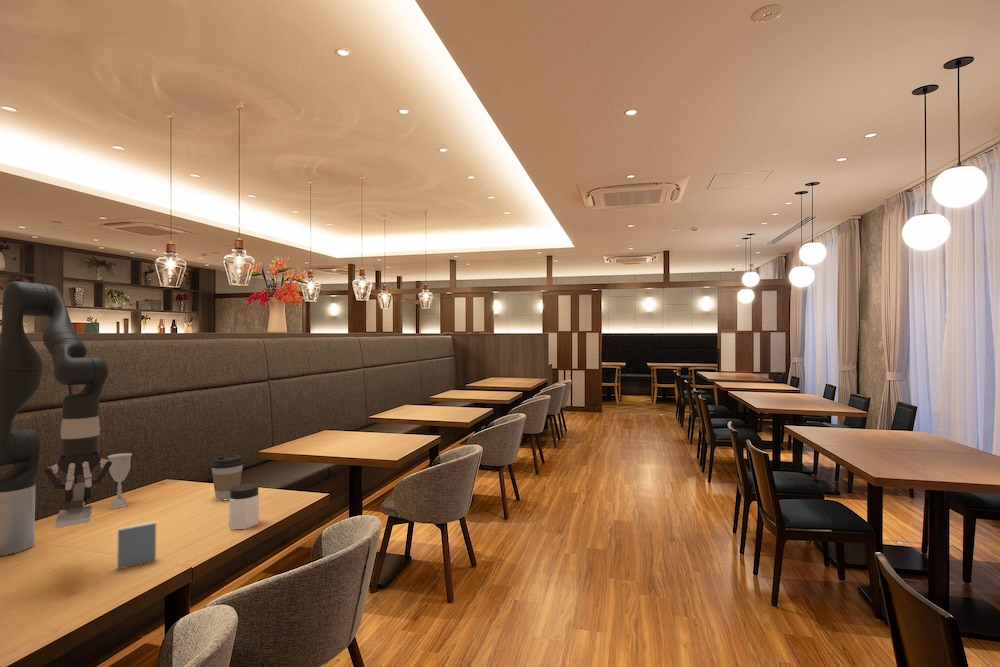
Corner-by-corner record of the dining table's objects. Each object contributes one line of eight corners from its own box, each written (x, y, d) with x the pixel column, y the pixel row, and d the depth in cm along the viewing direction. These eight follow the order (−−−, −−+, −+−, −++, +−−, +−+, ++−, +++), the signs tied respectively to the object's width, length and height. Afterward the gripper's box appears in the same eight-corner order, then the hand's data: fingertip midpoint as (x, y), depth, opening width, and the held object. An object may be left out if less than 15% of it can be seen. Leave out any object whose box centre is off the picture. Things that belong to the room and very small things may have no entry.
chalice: (101, 508, 168) (102, 456, 168) (121, 502, 174) (122, 452, 175) (116, 509, 166) (117, 458, 166) (136, 503, 172) (137, 453, 173)
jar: (263, 519, 155) (264, 482, 156) (253, 529, 147) (253, 490, 147) (235, 521, 154) (235, 483, 155) (222, 530, 146) (223, 491, 146)
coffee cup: (210, 496, 181) (211, 456, 181) (244, 491, 186) (245, 453, 186) (208, 504, 171) (208, 462, 171) (244, 499, 176) (244, 459, 176)
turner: (89, 522, 113) (89, 509, 113) (55, 528, 109) (55, 515, 109) (96, 491, 130) (96, 480, 130) (66, 495, 127) (66, 484, 127)
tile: (116, 569, 121) (117, 530, 121) (117, 567, 122) (117, 528, 122) (155, 561, 126) (156, 522, 126) (155, 558, 127) (156, 520, 127)
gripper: (40, 440, 115) (38, 512, 115) (114, 433, 124) (112, 501, 123) (45, 435, 121) (43, 504, 121) (115, 429, 130) (114, 493, 129)
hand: (78, 502), depth 122 cm, fingers closed on turner, 2 cm apart
